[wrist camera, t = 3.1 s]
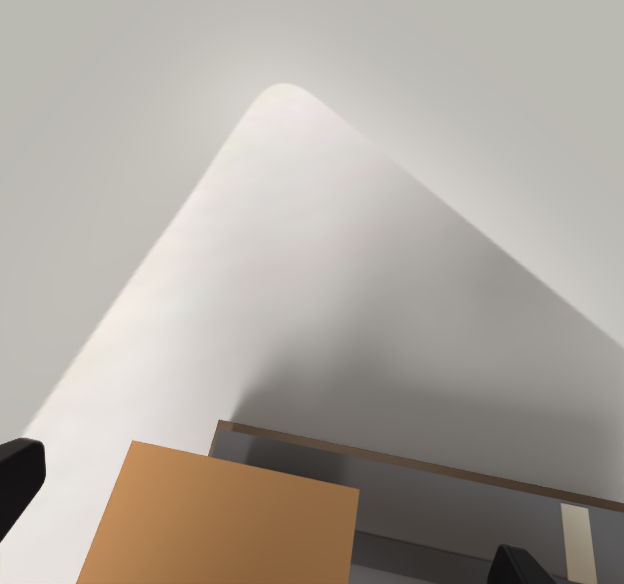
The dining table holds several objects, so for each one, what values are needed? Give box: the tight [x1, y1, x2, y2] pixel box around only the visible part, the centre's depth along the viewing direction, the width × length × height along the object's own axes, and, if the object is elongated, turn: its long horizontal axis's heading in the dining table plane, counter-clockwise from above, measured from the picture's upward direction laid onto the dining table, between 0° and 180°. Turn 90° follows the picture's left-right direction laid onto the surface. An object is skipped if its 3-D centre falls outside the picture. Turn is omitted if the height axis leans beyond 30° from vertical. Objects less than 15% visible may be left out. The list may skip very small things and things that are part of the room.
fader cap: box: [76, 440, 360, 584], centre depth 8 cm, size 3×3×8 cm
